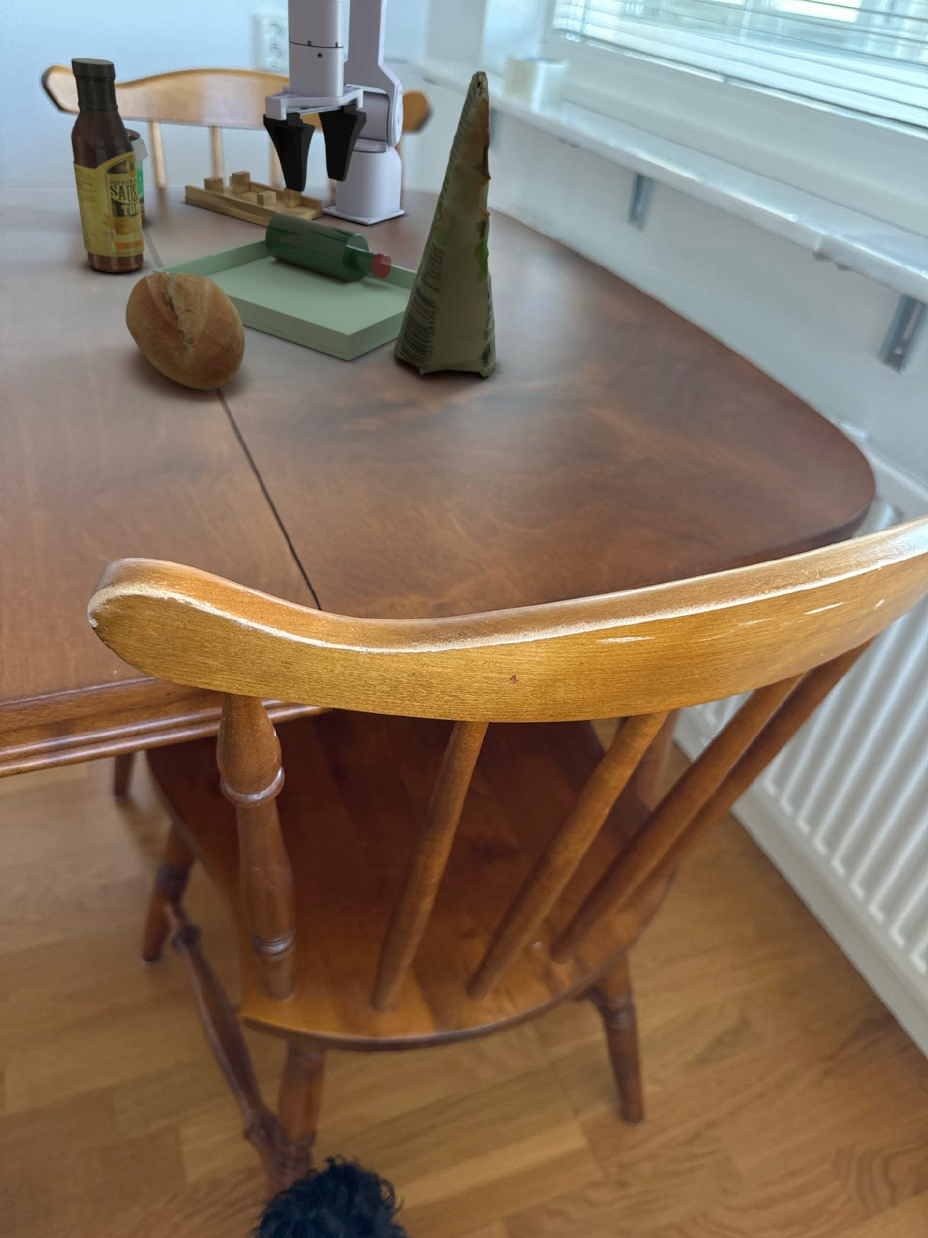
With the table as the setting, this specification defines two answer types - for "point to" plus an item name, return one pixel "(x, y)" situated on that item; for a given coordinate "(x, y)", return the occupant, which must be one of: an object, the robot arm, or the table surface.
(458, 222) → the olive green tall cone
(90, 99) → the sauce bottle
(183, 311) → the bread roll
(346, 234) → the bottle
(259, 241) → the tray
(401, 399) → the table surface
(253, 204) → the rack
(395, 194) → the robot arm
